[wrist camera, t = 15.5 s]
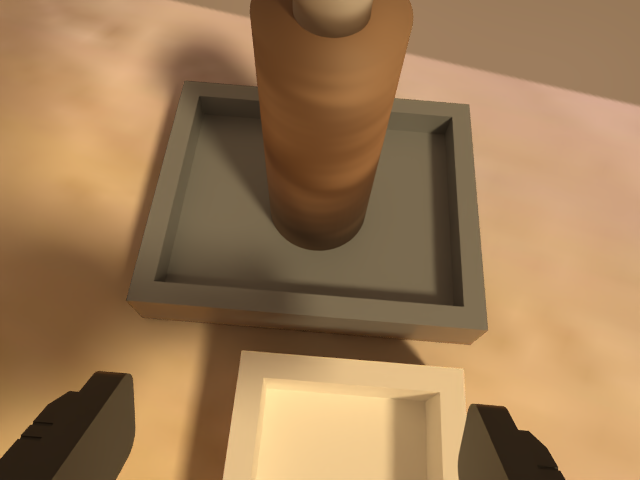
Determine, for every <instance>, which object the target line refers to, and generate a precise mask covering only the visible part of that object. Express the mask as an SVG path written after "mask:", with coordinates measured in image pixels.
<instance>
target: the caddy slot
mask: <svg viewBox="0 0 640 480" xmlns="http://www.w3.org/2000/svg"><path fill="white" fill-rule="evenodd" d="M466 417H467V416H466V399H465V382H464V369H462V368H450V367H438V366H426V365H414V364H402V363H390V362H378V361H366V360H353V359H341V358H329V357H317V356H305V355H293V354H281V353H269V352H257V351H245V350H242V352H241V358H240V365H239V372H238V379H237V386H236V392H235V399H234V406H233V413H232V420H231V427H230V433H229V440H228V447H227V454H226V461H225V467H224V474H223V480H459V478H458V456H459V451H460V446H461V441H462V436H463V432H464V427H465V422H466Z"/></svg>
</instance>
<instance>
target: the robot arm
mask: <svg viewBox="0 0 640 480" xmlns="http://www.w3.org/2000/svg"><path fill="white" fill-rule="evenodd" d="M134 437H135V410H134V389H133V378H132V376H131V374H127V373H115V372H103V371H97V372H95V373H94V374H93V375H92V377H91V378H90V379H89V380H88V381H87V383H86V384H85V385H84V386H83V388H82V389H81V390H80V391H79V392H74V391H69V392H67V393H66V394H64V395H62V396H61V397H59V398H58V399H56V400H55V401H53V402H51V403H50V404H48V405H47V406H46V407H45V409H44V410H43V411H42V412H41V413H40V414H39V415H38V417H37V418H36V419H35V420H34V421H33V425H30V426H29V427H28V428H27V429H26V430H25V431H24V433H23V434H22V435H21V438H20V439H17V441H16V442H15V443H14V444H13V445H12V446H11V447H10V449H9V450H8V451H7V452H6V453H5V454H4V455H3V457H2V458H1V459H0V480H116V479H117V477H118V475H119V473H120V471H121V469H122V467H123V466H124V464H125V462H126V460H127V458H128V456H129V454H130V452H131V449H132V446H133V442H134ZM458 478H459V480H565V478H564V477H563V475H562V473H561V471H558V466H557V464H556V463H555V461H554V459H553V458H552V456H551V454H550V452H549V451H548V449H547V448H546V447H545V446H544V445H543V444H542V443H541V442H540V441H539V440H538V439H537V438H536V437H535V436H533V435H532V434H531V433H530V432H529V431H523V430H518V429H517V427H516V425H515V423H514V421H513V419H512V417H511V416H510V414H509V412H508V410H507V409H506V407H504V406H494V405H482V404H471V405H470V407H469V409H468V413H467V417H466V422H465V427H464V432H463V436H462V441H461V446H460V451H459V456H458Z"/></svg>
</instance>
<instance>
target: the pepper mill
mask: <svg viewBox="0 0 640 480" xmlns="http://www.w3.org/2000/svg"><path fill="white" fill-rule="evenodd" d="M250 18H251V28H252V37H253V47H254V56H255V66H256V76H257V85H258V95H259V104H260V114H261V123H262V133H263V143H264V152H265V162H266V171H267V181H268V190H269V200H270V210H271V217H272V220H273V223H274V225H275V227H276V229H277V230H278V232H279V233H280V234H281V235H282V236H283V237H284V238H285V239H286V240H287V241H289V242H290V243H292V244H294V245H296V246H298V247H300V248H303V249H307V250H313V251H324V250H331V249H335V248H337V247H340V246H342V245H344V244H346V243H347V242H349V241H350V240H351V239H352V238H354V237H355V235H356V234H357V233H358V232H359V230H360V229H361V227H362V225H363V222H364V218H365V215H366V211H367V207H368V202H369V198H370V194H371V190H372V186H373V182H374V178H375V174H376V170H377V166H378V162H379V158H380V154H381V150H382V146H383V142H384V138H385V134H386V130H387V126H388V122H389V118H390V114H391V110H392V106H393V102H394V98H395V94H396V90H397V86H398V82H399V77H400V73H401V69H402V65H403V61H404V57H405V53H406V49H407V45H408V41H409V37H410V33H411V29H412V25H413V10H412V7H411V3H410V1H409V0H251V4H250Z"/></svg>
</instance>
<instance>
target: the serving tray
mask: <svg viewBox="0 0 640 480" xmlns="http://www.w3.org/2000/svg"><path fill="white" fill-rule="evenodd" d="M126 301H127V302H128V303H129V304H130V305H131V306H132V307H133V308H134V309H135V310H136V311H137V312H138V313H139V314H140V316H141V317H142V318H153V319H165V320H177V321H189V322H201V323H213V324H225V325H237V326H250V327H262V328H274V329H286V330H298V331H310V332H322V333H334V334H346V335H358V336H370V337H382V338H394V339H406V340H419V341H431V342H443V343H455V344H467V345H471V344H472V343H473V342H474V341H476V340H477V339H478V338H479V337H481V336H482V335H483V334H484V333H485V332H487V331H488V324H487V312H486V300H485V288H484V276H483V264H482V252H481V240H480V228H479V216H478V204H477V192H476V180H475V168H474V156H473V144H472V132H471V120H470V108H469V104H457V103H446V102H434V101H422V100H410V99H398V98H394V102H393V106H392V110H391V114H390V118H389V122H388V126H387V130H386V134H385V138H384V142H383V146H382V150H381V154H380V158H379V162H378V166H377V170H376V174H375V178H374V182H373V186H372V190H371V194H370V198H369V202H368V207H367V211H366V215H365V218H364V222H363V225H362V227H361V229H360V230H359V232H358V233H357V234H356V235H355V237H354V238H352V239H351V240H350V241H349V242H347V243H346V244H344V245H342V246H340V247H337V248H335V249H331V250H324V251H313V250H307V249H303V248H300V247H298V246H296V245H294V244H292V243H290V242H289V241H287V240H286V239H285V238H284V237H283V236H282V235H281V234H280V233H279V232H278V230H277V229H276V227H275V225H274V223H273V220H272V217H271V210H270V200H269V190H268V181H267V171H266V162H265V152H264V143H263V133H262V123H261V114H260V104H259V95H258V87H254V86H242V85H230V84H219V83H207V82H195V81H184V85H183V89H182V92H181V96H180V100H179V104H178V107H177V111H176V115H175V119H174V123H173V126H172V130H171V134H170V138H169V141H168V145H167V149H166V153H165V156H164V160H163V164H162V168H161V171H160V175H159V179H158V183H157V186H156V190H155V194H154V198H153V201H152V205H151V209H150V213H149V216H148V220H147V224H146V228H145V232H144V235H143V239H142V243H141V247H140V250H139V254H138V258H137V262H136V265H135V269H134V273H133V277H132V280H131V284H130V288H129V292H128V295H127V299H126Z"/></svg>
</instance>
